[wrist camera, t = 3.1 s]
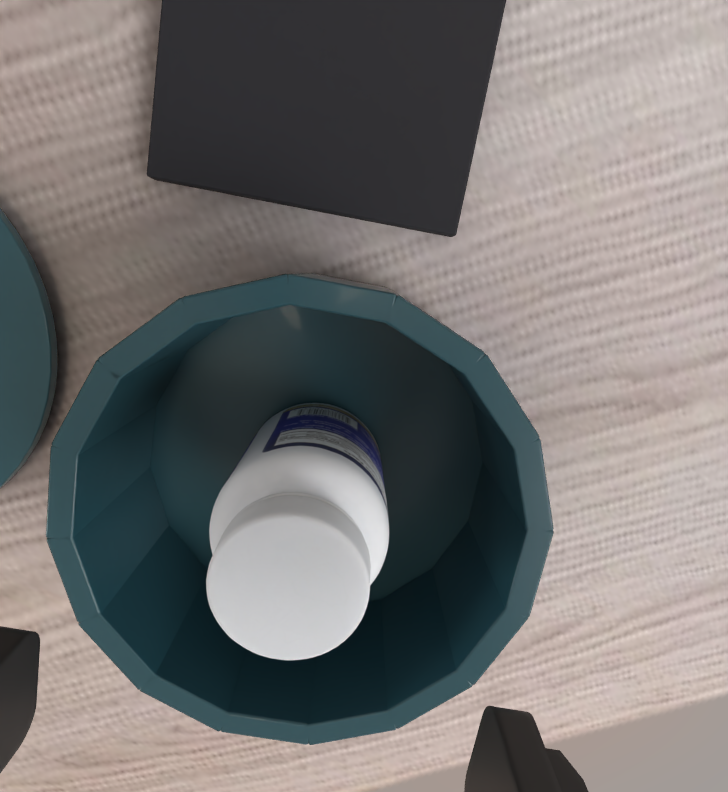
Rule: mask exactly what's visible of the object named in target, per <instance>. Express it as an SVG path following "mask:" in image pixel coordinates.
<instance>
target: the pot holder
mask: <svg viewBox="0 0 728 792" xmlns="http://www.w3.org/2000/svg"><path fill="white" fill-rule="evenodd" d="M505 3H506V0H162V9H161V20H160V31H159V43H158V54H157V65H156V77H155V88H154V99H153V111H152V122H151V134H150V145H149V156H148V168H147V176H148V177H150V178H152V179H155V180H158V181H163V182H169V183H174V184H179V185H184V186H189V187H195V188H200V189H205V190H210V191H215V192H220V193H226V194H231V195H236V196H241V197H246V198H252V199H257V200H262V201H267V202H272V203H277V204H283V205H288V206H293V207H298V208H303V209H308V210H314V211H319V212H324V213H329V214H334V215H340V216H345V217H350V218H355V219H360V220H365V221H371V222H376V223H381V224H386V225H391V226H397V227H402V228H407V229H412V230H417V231H422V232H428V233H433V234H438V235H443V236H448V237H452V236H455V235H456V233H457V228H458V223H459V219H460V214H461V209H462V204H463V200H464V195H465V190H466V186H467V181H468V176H469V172H470V167H471V162H472V158H473V153H474V148H475V144H476V139H477V134H478V130H479V125H480V120H481V116H482V111H483V106H484V101H485V97H486V92H487V87H488V83H489V78H490V73H491V69H492V64H493V59H494V55H495V50H496V45H497V41H498V36H499V31H500V27H501V22H502V17H503V13H504V8H505Z"/></svg>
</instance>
